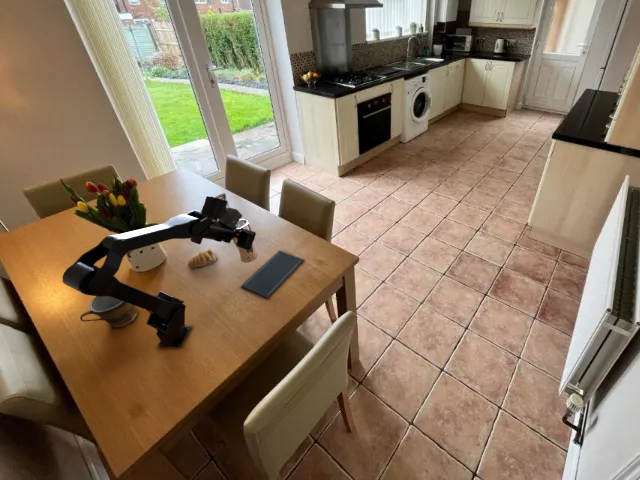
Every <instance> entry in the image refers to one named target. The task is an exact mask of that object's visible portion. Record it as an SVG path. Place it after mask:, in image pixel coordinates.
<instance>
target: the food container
mask: <svg viewBox="0 0 640 480" xmlns="http://www.w3.org/2000/svg"><path fill="white" fill-rule="evenodd" d="M214 197H215V198H218V199H222V200H225V201H228V198H227V195H226V193H225V192H224V193H223V192H222V193H221V194H218V195H216V196H214ZM226 208H230V204H229V203H228V204H227V206H226ZM218 220H220V219H218Z"/></svg>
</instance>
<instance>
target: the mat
mask: <svg viewBox="0 0 640 480" xmlns="http://www.w3.org/2000/svg"><path fill="white" fill-rule="evenodd" d="M303 262H304V259H302V258H300V257H296V256H294V255H292V254H290V253H286V252H283V251H281V250H279V251H278V252H277V253H276V254H274V255H273V256H272V257H271V258H270V259H269V260H268V261H267V262H265V263H264V264H263V265H262V266H261V267H260V268H259V269H258V270H257V271H256V272H255V273H254V274H253V275H251V276H250V277H249V278H248V279H247V280H246V281H245V282H244V283H243V284H242V285H241V288H244V289H247V290H248V291H250V292H253V293H255V294H257V295H259V296H261V297H264V298H266V299H269V298H270V297H271V295H273V293H275V291H276V290H278V288H280V286H281V285H282V284H284V282H285V281H286V280H287V279H288V278H289V277H290V276H291V275H292V274H293V272H295V270H297V269H298V267H299V266H300V265H301V264H302V263H303Z"/></svg>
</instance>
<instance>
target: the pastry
mask: <svg viewBox="0 0 640 480" xmlns="http://www.w3.org/2000/svg"><path fill="white" fill-rule="evenodd" d="M216 258H217V257H216V256H215V253H214V251H213V250H212V249H211V248H209V249H207V250H204V251H199V253H197V254H196V255H195V256H193V257H192V258H190V259H189V260H188V262H187V263H188V264H187V265H188V267H189V268H191V269H192V268H193V269H195V268H203V267H205V266H208V265H211V264H213V263H215V262H216V260H217V259H216Z"/></svg>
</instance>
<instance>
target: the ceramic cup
mask: <svg viewBox="0 0 640 480" xmlns="http://www.w3.org/2000/svg"><path fill="white" fill-rule="evenodd" d="M89 309H90V310H87V311H85V312H83V313H82V314H81V315H80V317H79V318H80V319H79V320H80V321H81V322H95V321H96V322H97V321H103V322H106V323H107V324H108V325H110V326H111V327H113V328H122V327H125V326H127V325H128V324H130V323H132V322H133V321H134V320H135V318H136V317H137V316H138V311H137V307H136V306H135V305H132V304H129V303H126V302H124V301H121V300H118V299H115V298H113V297H109V296H103V297H99V296H94V298H93V299H92V300H91V302H90V303H89ZM89 315H95V316H98V317H99V318H90V319H83V318H84V317H86V316H89Z"/></svg>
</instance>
